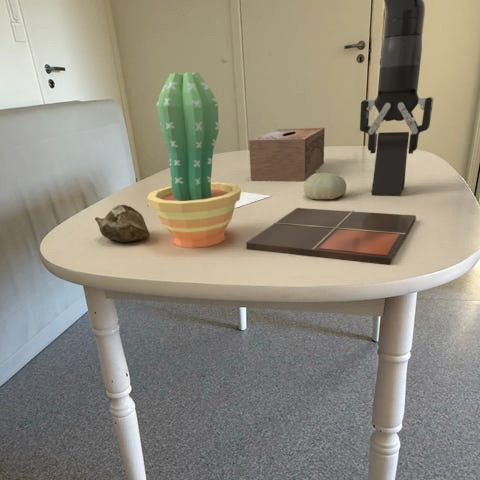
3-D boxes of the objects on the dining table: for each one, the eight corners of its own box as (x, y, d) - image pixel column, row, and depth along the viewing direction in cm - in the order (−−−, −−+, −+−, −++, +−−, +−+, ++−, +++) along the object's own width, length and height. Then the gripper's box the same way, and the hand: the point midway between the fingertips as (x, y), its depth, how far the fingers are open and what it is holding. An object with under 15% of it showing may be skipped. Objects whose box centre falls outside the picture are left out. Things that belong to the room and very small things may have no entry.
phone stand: (400, 196, 94) (407, 134, 88) (371, 195, 96) (375, 135, 90) (404, 187, 101) (410, 129, 95) (377, 186, 103) (381, 130, 97)
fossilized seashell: (84, 226, 78) (110, 247, 72) (98, 191, 77) (126, 209, 71) (120, 238, 84) (147, 258, 78) (134, 205, 83) (162, 223, 77)
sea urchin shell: (331, 180, 102) (344, 157, 95) (342, 210, 100) (357, 189, 93) (294, 185, 100) (305, 162, 93) (305, 215, 98) (317, 194, 91)
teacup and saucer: (233, 196, 103) (232, 177, 101) (209, 203, 98) (207, 184, 96) (207, 192, 109) (205, 175, 107) (183, 199, 103) (180, 181, 102)
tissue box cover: (277, 163, 139) (276, 129, 135) (323, 163, 135) (324, 127, 130) (250, 180, 118) (248, 140, 114) (304, 181, 113) (304, 139, 109)
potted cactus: (250, 225, 81) (242, 68, 70) (235, 254, 68) (222, 66, 56) (170, 226, 84) (149, 76, 72) (140, 254, 71) (108, 75, 59)
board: (415, 221, 78) (416, 214, 77) (390, 264, 61) (390, 257, 60) (296, 212, 87) (296, 207, 87) (246, 248, 70) (245, 242, 70)
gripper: (441, 61, 87) (429, 150, 94) (367, 66, 93) (362, 150, 101) (437, 61, 81) (424, 156, 89) (358, 66, 87) (353, 155, 95)
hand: (391, 152), depth 95 cm, fingers open, 7 cm apart
